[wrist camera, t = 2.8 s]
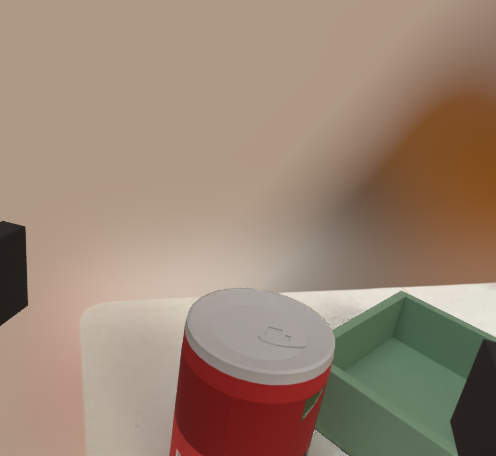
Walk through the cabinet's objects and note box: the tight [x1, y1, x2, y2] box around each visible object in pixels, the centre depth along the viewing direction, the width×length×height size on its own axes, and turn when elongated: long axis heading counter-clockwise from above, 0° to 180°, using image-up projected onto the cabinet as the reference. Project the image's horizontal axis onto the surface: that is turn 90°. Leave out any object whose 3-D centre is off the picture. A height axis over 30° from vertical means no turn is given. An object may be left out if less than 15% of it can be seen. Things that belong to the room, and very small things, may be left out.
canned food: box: [170, 288, 335, 456], centre depth 27 cm, size 8×8×11 cm
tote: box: [315, 291, 496, 456], centre depth 34 cm, size 16×16×5 cm
